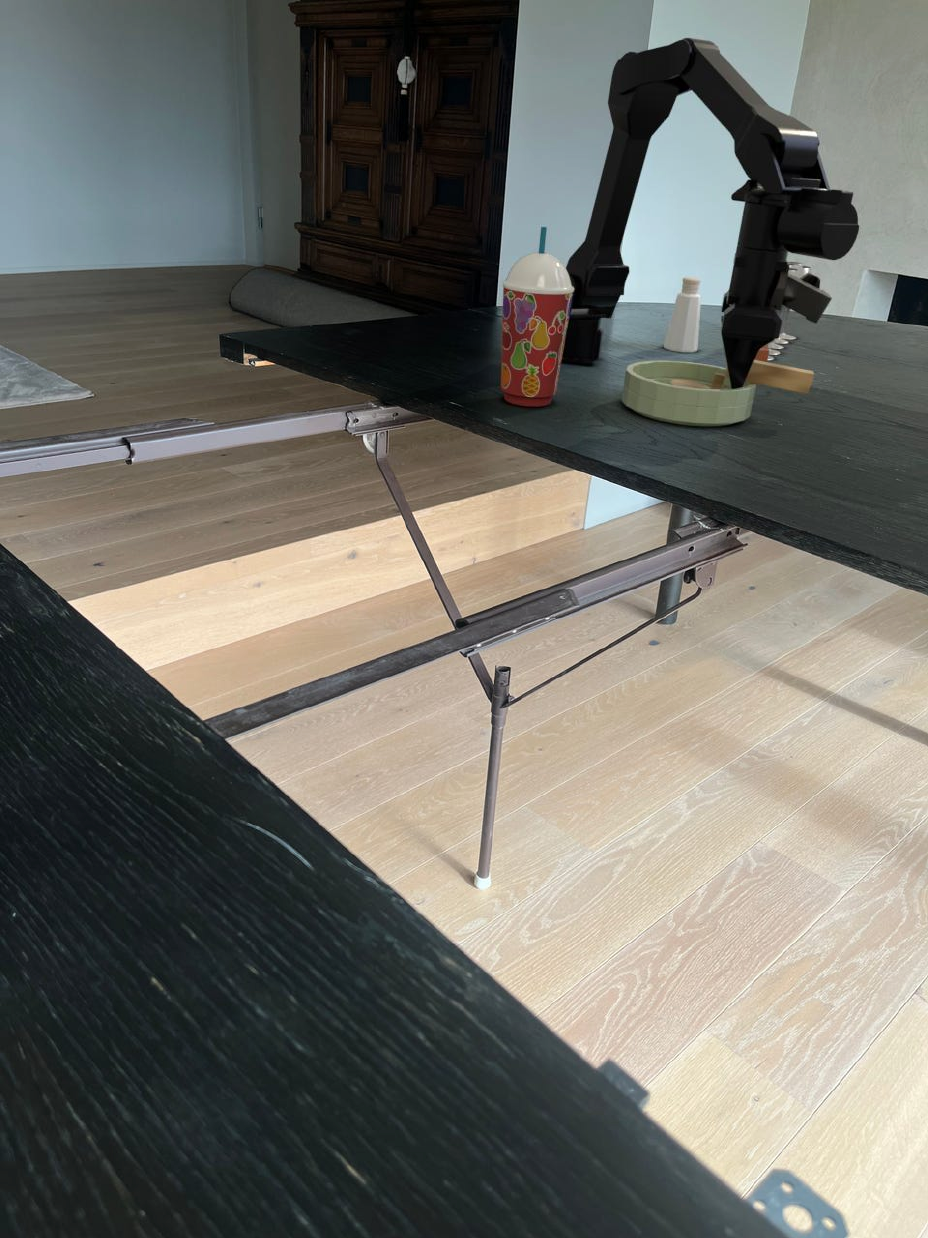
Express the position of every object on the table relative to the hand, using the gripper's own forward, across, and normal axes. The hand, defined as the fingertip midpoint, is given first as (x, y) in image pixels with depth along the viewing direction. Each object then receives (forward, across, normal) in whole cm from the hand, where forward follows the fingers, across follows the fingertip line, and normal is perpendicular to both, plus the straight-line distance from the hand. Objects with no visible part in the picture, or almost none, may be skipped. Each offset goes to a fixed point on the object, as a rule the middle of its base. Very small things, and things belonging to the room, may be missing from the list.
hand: (735, 384), depth 116 cm
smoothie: (+4, -5, +24) cm, 25 cm away
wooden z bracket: (+4, 0, 0) cm, 4 cm away
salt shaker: (+4, +41, +8) cm, 42 cm away
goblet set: (+4, +53, -7) cm, 54 cm away
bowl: (+4, 0, +6) cm, 7 cm away
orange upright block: (+4, +27, -4) cm, 28 cm away
